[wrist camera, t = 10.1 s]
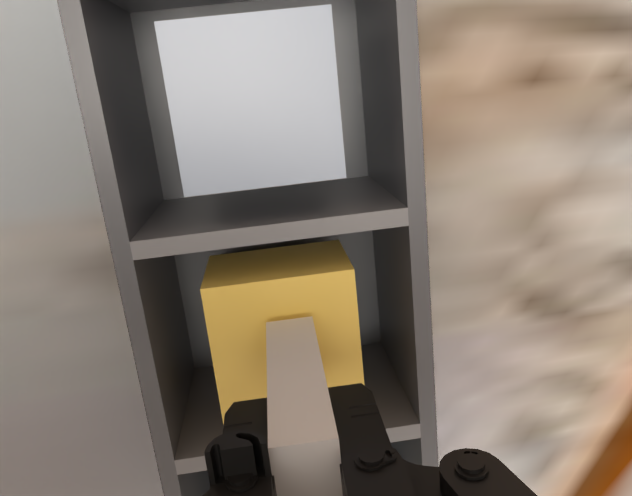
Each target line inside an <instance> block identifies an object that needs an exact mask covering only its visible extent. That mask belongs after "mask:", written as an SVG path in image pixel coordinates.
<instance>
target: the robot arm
mask: <svg viewBox="0 0 632 496" xmlns="http://www.w3.org/2000/svg"><path fill="white" fill-rule="evenodd" d="M266 356H267V398H260V399H252V400H245V401H238V402H233V404H232V405H231V406H230V408H229V409H228V410H227V412H226V413H225V417H224V428H223V434H222V435H220V436H218V437H216V438H214V439H213V440H212V441H211V442H210V443H209V444H208V445H207V447H206V449H205V451H204V455H205V461H206V466H207V472H208V477H209V482H210V489H209V490H208V491H207V492H206V493H205V494H204V495H202V496H537V495H536V494H535V493H534V492H533V491H532V490H531V489H530V488H528V487H527V486H526V485H525V484H524V483H523V482H522V481H521V480H520V479H519V478H518V477H517V476H516V475H515V474H514V473H513V472H511V471H510V470H509V469H508V468H507V467H506V466H505V465H504V464H503V463H502V462H501V461H500V460H499V459H497V458H496V457H494V456H493V455H491V454H490V453H488V452H484V451H481V450H478V449H467V448H465V449H459V450H454V451H452V452H450V453H448V454H446V455H445V456H444V457H443V458H442V460H441V461H440V466H439V467H434V466H423V465H417V464H414V463H411V462H408V461H406V460H404V459H402V457H401V455H400V454H399V453H398V451H397V450H396V449H394V448H393V447H392V446H391V443H390V440H389V437H388V434H387V432H386V429H385V426H384V423H383V421H382V418H381V415H380V413H379V409H378V407H377V405H376V401H375V398H374V396H373V393H372V391H371V390H369V389H368V388H367V387H366V386H364V385H363V384H362V383H357V384H350V385H343V386H336V387H329V388H328V386H327V382H326V377H325V373H324V368H323V363H322V359H321V354H320V350H319V345H318V340H317V336H316V331H315V327H314V322H313V317H312V316H310V317H302V318H295V319H287V320H280V321H272V322H266Z"/></svg>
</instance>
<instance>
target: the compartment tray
mask: <svg viewBox="0 0 632 496" xmlns="http://www.w3.org/2000/svg"><path fill="white" fill-rule="evenodd" d="M57 3H58V7H59V12H60V17H61V21H62V26H63V31H64V35H65V40H66V44H67V49H68V54H69V58H70V63H71V68H72V72H73V77H74V81H75V86H76V91H77V95H78V100H79V105H80V109H81V114H82V118H83V123H84V128H85V132H86V137H87V142H88V146H89V151H90V155H91V160H92V165H93V169H94V174H95V179H96V183H97V188H98V192H99V197H100V202H101V206H102V211H103V216H104V220H105V225H106V229H107V234H108V239H109V243H110V248H111V253H112V257H113V262H114V267H115V271H116V276H117V280H118V285H119V290H120V294H121V299H122V304H123V308H124V313H125V317H126V322H127V327H128V331H129V336H130V341H131V345H132V350H133V354H134V359H135V364H136V368H137V373H138V378H139V382H140V387H141V391H142V396H143V401H144V405H145V410H146V415H147V419H148V424H149V428H150V433H151V438H152V442H153V447H154V452H155V456H156V461H157V465H158V470H159V475H160V479H161V484H162V489H163V493H164V496H202V495H204V494H205V493H206V492H207V491H208V490H209V489H210V482H209V477H208V472H207V466H206V461H205V455H204V451H205V449H206V447H207V445H208V444H209V443H210V442H211V441H212V440H213V439H214V438H216V437H218V436H220V435H222V434H223V428H224V425H223V420H222V414H221V408H220V402H219V396H218V391H217V385H216V379H215V373H214V367H213V362H212V356H211V350H210V344H209V338H208V333H207V327H206V321H205V315H204V309H203V303H202V298H201V292H200V288H201V284H202V281H203V277H204V274H205V270H206V267H207V263H208V260H209V256H212V255H220V254H228V253H236V252H244V251H252V250H260V249H268V248H276V247H284V246H292V245H300V244H307V243H315V242H323V241H331V240H339V241H340V243H341V245H342V247H343V249H344V250H345V252H346V254H347V256H348V258H349V260H350V262H351V264H352V266H353V267H354V270H355V281H356V293H357V304H358V316H359V327H360V339H361V350H362V362H363V373H364V384H365V386H366V387H367V388H368V389H369V390H371V391H372V393H373V396H374V398H375V401H376V405H377V407H378V409H379V413H380V415H381V418H382V421H383V423H384V426H385V429H386V432H387V434H388V437H389V440H390V443H391V446H392V447H393V448H394V449H396V450H397V451H398V453H399V454H400V455H401V457H402V459H404V460H406V461H408V462H411V463H414V464H417V465H423V466H434V467H438V447H437V426H436V404H435V383H434V362H433V341H432V319H431V298H430V277H429V256H428V234H427V213H426V192H425V171H424V149H423V128H422V107H421V86H420V64H419V43H418V22H417V1H416V0H57ZM328 4H331V6H332V18H333V29H334V41H335V52H336V64H337V75H338V87H339V98H340V110H341V121H342V132H343V144H344V155H345V167H346V178H342V179H334V180H325V181H317V182H308V183H300V184H292V185H283V186H275V187H266V188H258V189H250V190H241V191H233V192H224V193H216V194H208V195H199V196H191V197H184V193H183V187H182V182H181V176H180V170H179V164H178V158H177V153H176V147H175V141H174V135H173V129H172V124H171V118H170V112H169V106H168V100H167V95H166V89H165V83H164V77H163V71H162V66H161V60H160V54H159V48H158V42H157V36H156V31H155V25H154V21H164V20H175V19H185V18H195V17H205V16H216V15H226V14H236V13H246V12H256V11H267V10H277V9H287V8H297V7H308V6H318V5H328Z"/></svg>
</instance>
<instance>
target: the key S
mask: <svg viewBox="0 0 632 496" xmlns="http://www.w3.org/2000/svg"><path fill="white" fill-rule="evenodd" d="M154 25H155V31H156V36H157V42H158V48H159V54H160V60H161V66H162V71H163V77H164V83H165V89H166V95H167V100H168V106H169V112H170V118H171V124H172V129H173V135H174V141H175V147H176V153H177V158H178V164H179V170H180V176H181V182H182V187H183V193H184V197H191V196H199V195H208V194H216V193H224V192H233V191H241V190H250V189H258V188H266V187H275V186H283V185H292V184H300V183H308V182H317V181H325V180H334V179H342V178H346V167H345V155H344V144H343V132H342V121H341V110H340V98H339V87H338V75H337V64H336V52H335V41H334V29H333V18H332V6H331V4H328V5H318V6H308V7H297V8H287V9H277V10H267V11H256V12H246V13H236V14H226V15H216V16H205V17H195V18H185V19H175V20H164V21H154Z"/></svg>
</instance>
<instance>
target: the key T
mask: <svg viewBox="0 0 632 496" xmlns="http://www.w3.org/2000/svg"><path fill="white" fill-rule="evenodd" d="M200 292H201V298H202V303H203V309H204V315H205V321H206V327H207V333H208V338H209V344H210V350H211V356H212V362H213V367H214V373H215V379H216V385H217V391H218V396H219V402H220V408H221V414H222V420H223V425H224V417H225V413H226V412H227V410H228V409H229V408H230V406H231V405H232V404H233V402H238V401H245V400H252V399H260V398H267V356H266V322H272V321H280V320H287V319H295V318H302V317H310V316H312V317H313V322H314V327H315V331H316V336H317V340H318V345H319V350H320V354H321V359H322V363H323V368H324V373H325V377H326V382H327V386H328V388H329V387H336V386H343V385H350V384H357V383H362V384H363V385H364V386H365V384H364V373H363V362H362V350H361V339H360V327H359V316H358V304H357V293H356V281H355V270H354V267H353V266H352V264H351V262H350V260H349V258H348V256H347V254H346V252H345V250H344V249H343V247H342V245H341V243H340V241H339V240H331V241H323V242H315V243H307V244H300V245H292V246H284V247H276V248H268V249H260V250H252V251H244V252H236V253H228V254H220V255H212V256H209V260H208V263H207V267H206V270H205V274H204V277H203V281H202V284H201V288H200Z"/></svg>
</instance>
